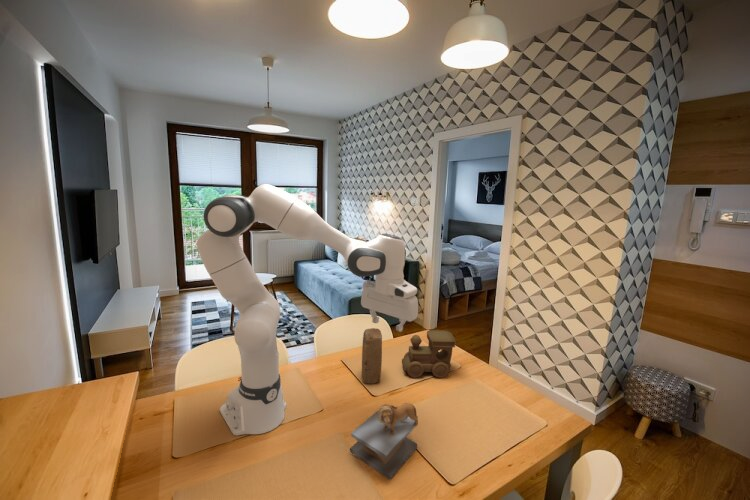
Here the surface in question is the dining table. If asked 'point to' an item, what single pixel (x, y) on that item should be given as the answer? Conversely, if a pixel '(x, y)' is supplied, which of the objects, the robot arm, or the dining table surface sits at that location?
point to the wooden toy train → (430, 354)
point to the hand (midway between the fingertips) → (387, 326)
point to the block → (371, 355)
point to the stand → (383, 445)
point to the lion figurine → (396, 415)
